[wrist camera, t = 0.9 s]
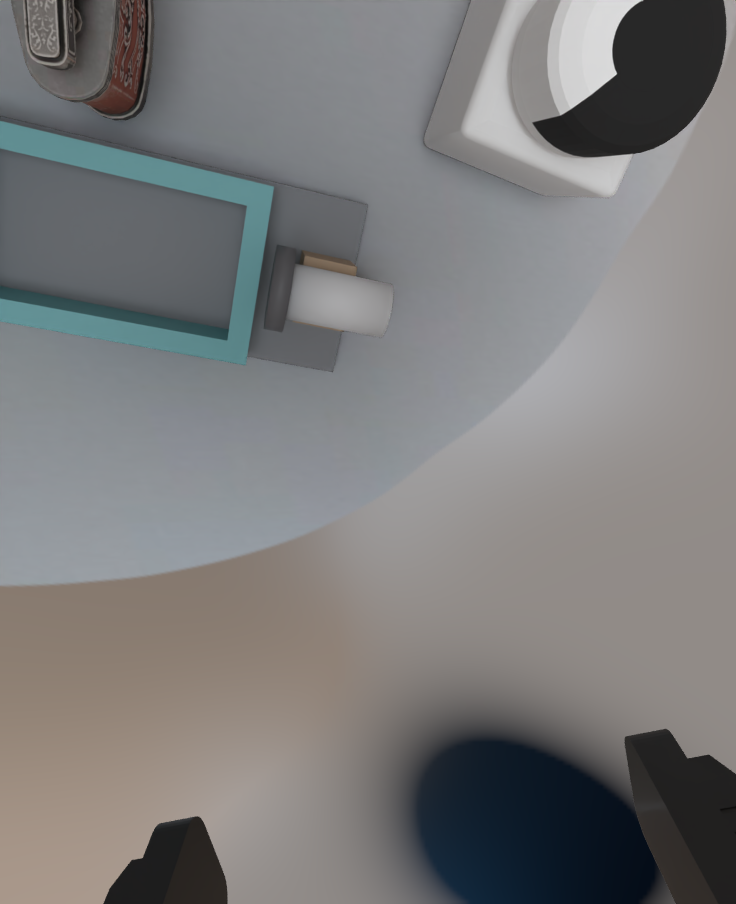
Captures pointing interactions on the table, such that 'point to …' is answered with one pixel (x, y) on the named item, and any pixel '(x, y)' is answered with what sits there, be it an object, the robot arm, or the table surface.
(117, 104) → the lighter
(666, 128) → the medicine bottle
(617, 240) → the table surface
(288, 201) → the shaft cradle
